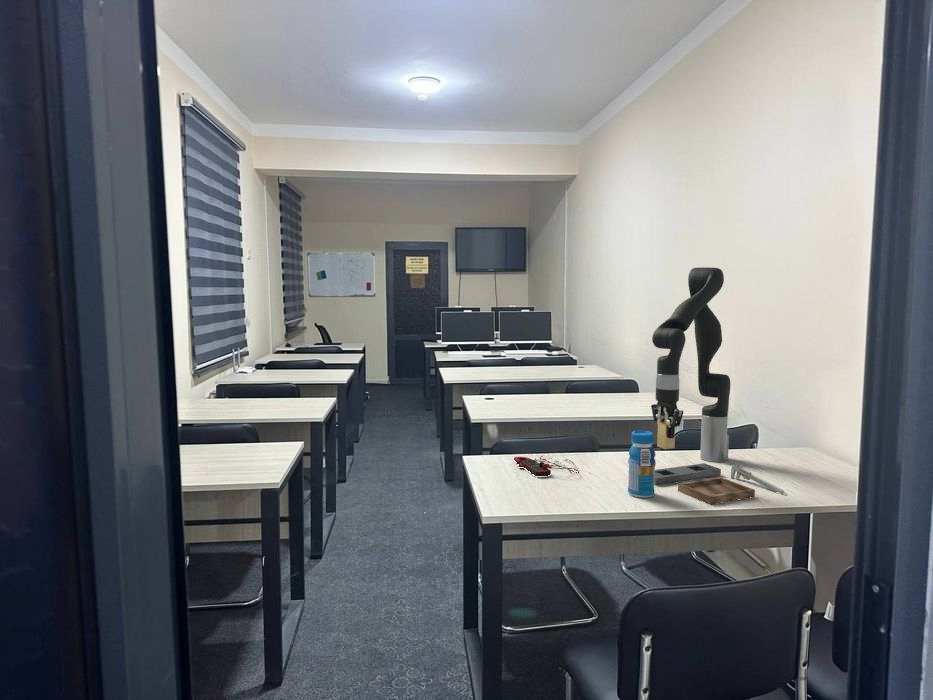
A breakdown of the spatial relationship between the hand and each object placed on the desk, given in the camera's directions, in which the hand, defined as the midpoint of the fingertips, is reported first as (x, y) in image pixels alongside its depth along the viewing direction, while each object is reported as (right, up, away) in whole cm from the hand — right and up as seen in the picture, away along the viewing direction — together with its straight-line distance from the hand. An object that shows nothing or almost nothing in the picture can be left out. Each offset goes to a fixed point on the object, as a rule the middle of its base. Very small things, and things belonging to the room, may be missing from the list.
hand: (666, 436), depth 205 cm
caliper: (+29, -16, -6) cm, 33 cm away
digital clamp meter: (-37, -15, +16) cm, 43 cm away
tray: (+11, -17, -13) cm, 24 cm away
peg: (0, -4, 0) cm, 4 cm away
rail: (+6, -15, +4) cm, 17 cm away
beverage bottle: (-12, -17, -13) cm, 25 cm away
